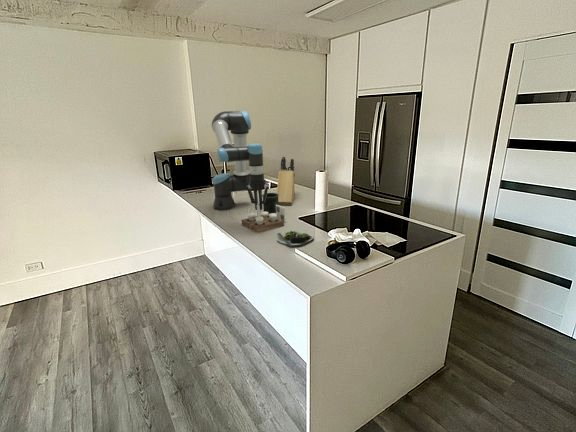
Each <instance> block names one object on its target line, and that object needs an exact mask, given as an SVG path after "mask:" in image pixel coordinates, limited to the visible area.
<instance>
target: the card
mask: <svg viewBox="0 0 576 432" xmlns="http://www.w3.org/2000/svg"><path fill="white" fill-rule="evenodd" d="M276 214H277V218H278V219H281V220H283V221H284V223H286V220H287V219H286V217H287V216H286V207H284V206H281V205H280V204H279V205H276Z"/></svg>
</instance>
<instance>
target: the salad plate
mask: <svg viewBox="0 0 576 432" xmlns="http://www.w3.org/2000/svg"><path fill="white" fill-rule="evenodd" d="M277 235H278V237H277V238H276V240H277V242H279V243H280V244H283V245H285V246H288V247H291V248H301V247H304V246H306V245H308V244H310V243H312V241H314V236H313V235H312V234H309V233H307V232H306V233H305V232H302V231H297V230H293V231H292V230H290V231H287V232H286V231H284V234H282V233H281V232H278V233H277ZM277 235H276V236H277ZM303 245H304V246H303ZM300 246H301V247H300Z"/></svg>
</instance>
